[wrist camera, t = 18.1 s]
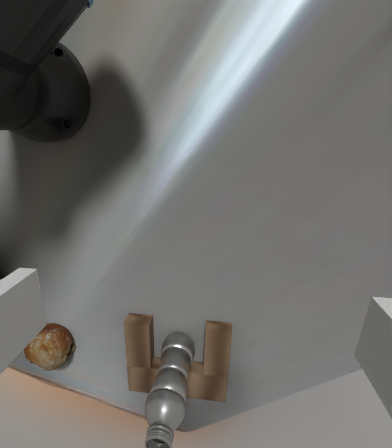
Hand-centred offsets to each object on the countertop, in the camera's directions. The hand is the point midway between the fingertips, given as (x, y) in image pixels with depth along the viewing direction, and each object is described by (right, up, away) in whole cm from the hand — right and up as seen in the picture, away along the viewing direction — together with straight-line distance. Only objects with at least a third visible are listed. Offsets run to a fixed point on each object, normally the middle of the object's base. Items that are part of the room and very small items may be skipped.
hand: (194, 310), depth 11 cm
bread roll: (-32, -22, +49) cm, 62 cm away
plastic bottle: (-3, -21, +45) cm, 49 cm away
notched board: (-4, -24, +46) cm, 52 cm away
